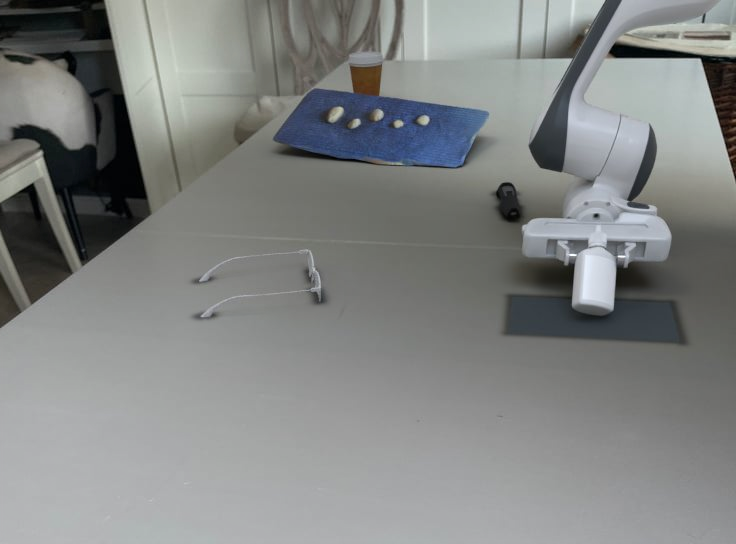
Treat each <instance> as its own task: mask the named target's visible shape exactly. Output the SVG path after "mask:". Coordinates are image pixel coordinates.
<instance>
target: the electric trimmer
mask: <svg viewBox="0 0 736 544" xmlns="http://www.w3.org/2000/svg"><path fill="white" fill-rule="evenodd" d="M517 194H518V193H517V189H516V186H515V185H514V184H513V183H512V182H509V181H506V182H501V183H500V184H499V186H498V187H497V189H496V191H495V196H496V197H497V198H500V203H499V209H500V211H501V212H502V214H503V215H504V216H505V218H507V219H515V218H520V216H521V205H520V203H519V199H518V195H517Z"/></svg>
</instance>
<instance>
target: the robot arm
mask: <svg viewBox="0 0 736 544" xmlns="http://www.w3.org/2000/svg"><path fill="white" fill-rule="evenodd" d="M720 2H721V0H604V2H603V3H602V5H601V7H600V9H599V11H598V12H597V15H595V17H594V18H593V20H592V22H591V24H590V26H589V28H588V30H587V31H586V33H585V35H584V37H583V38H582V41H581V43H580V44H579V46H578V48H577V50H576V51H575V53H574V55H573V57H572V59H571V60H570V63H569V64H568V66H567V68H566V70H565V72H564V73H563V75H562V77H561V79H560V81H559V83H558V84H557V86H556V88H555V90H554V92H553V93H552V95H551V96H550V98H549V100H548V101H547V102H546V103H545V105H544V106H543V108H542V109H541V110H540V112H539V113H538V115H537V117H536V119H535V120H534V122H533V125H532V127H531V130H530V135H529V141H528V145H527V147H528V150H529V152H530V154H531V156H532V158H533V160H534V161H535V163H536V164H537V166H538V167H539V169H543V170H547V171H553V172H557V173H565V174H567V175H570V176H573V177H572V179H571V180H570V182H569V183H568V185H567V186H566V189H565V192H564V195H563V198H562V203H561V217H537V218H533V219H531V220H530V221H528V222H527V224H523V225H522V226H521V229H520V232H521V235H522V247H521V255H522V256H523V257H525V258H528V259H547V260H549V259H551V260H559V261H561V262H563V266H565V267H572V266H573V267H575V260H576V256H577V255H578V254H579V253H580V252H581V251H583V250H585V249H588V240H589V235H590V234H591V233H594V232H595V228H596V226H597V225H601V227H602V232H603V233H605V234H606V235H607V245H606V251H608V252H609V253H610V254H612V255H613V256H614V257H615V259H616V268H621V269H622V268H623V269H627V268H629V267H628V265H629V263H632V262H641V263H662V262H665V261H667V260H668V257H669V254H670V250H671V245H672V239H673V238H672V237H673V236H672V232H671V230H670V228H669V226H668V225H667V223H666V221H665V220H664V219H663V218H662V217H660V216H659V215H658V207H656V206H655V205H652V204H646V203H640V202H635V201H634V200H635V199H636V198H637V197H639V195H640V194H641V193H642V191H643V190H644V189H645V187H646V185H647V182H648V181H649V179H650V176H651V174H652V172H653V169H654V166H655V162H656V160H657V159H656V158H657V153H658V144H657V138H656V133H655V130H654V128H653V127H652V125H651V123H648V122H646V121H643V120H640V119H637V118H635V117H631V116H628V115H625V114H622V113H617V112H615V111H610V110H609V109H604V108H601V107H598V106H595V105H592V104H590V103H588V102H587V101H586V100H585V94H586V93H587V92H588V89H589V88H590V86H591V85H592V82H593V81H594V79H595V77H596V75H597V73H598V72H599V70H600V68H601V67H602V65H603V63H604V61H605V59H606V57H607V56H608V54H609V53H610V51H611V50H612V47H613V46H614V44H615V43H616V42H617V41H618V40H619V39H620V38H621V37H623V36H624V35H625V34H628V33H629V32H631V31H634V30H637V29H642V28H648V27H657V26H664V25H674V24H680V23H681V24H682V23H685V22H689V21H692V20H695V19H698V18H700V17H701V16H703V15H705V14H707V13H708V12H710V11H712V9H713V8H715V7H716V6H717V4H719V3H720Z"/></svg>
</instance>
